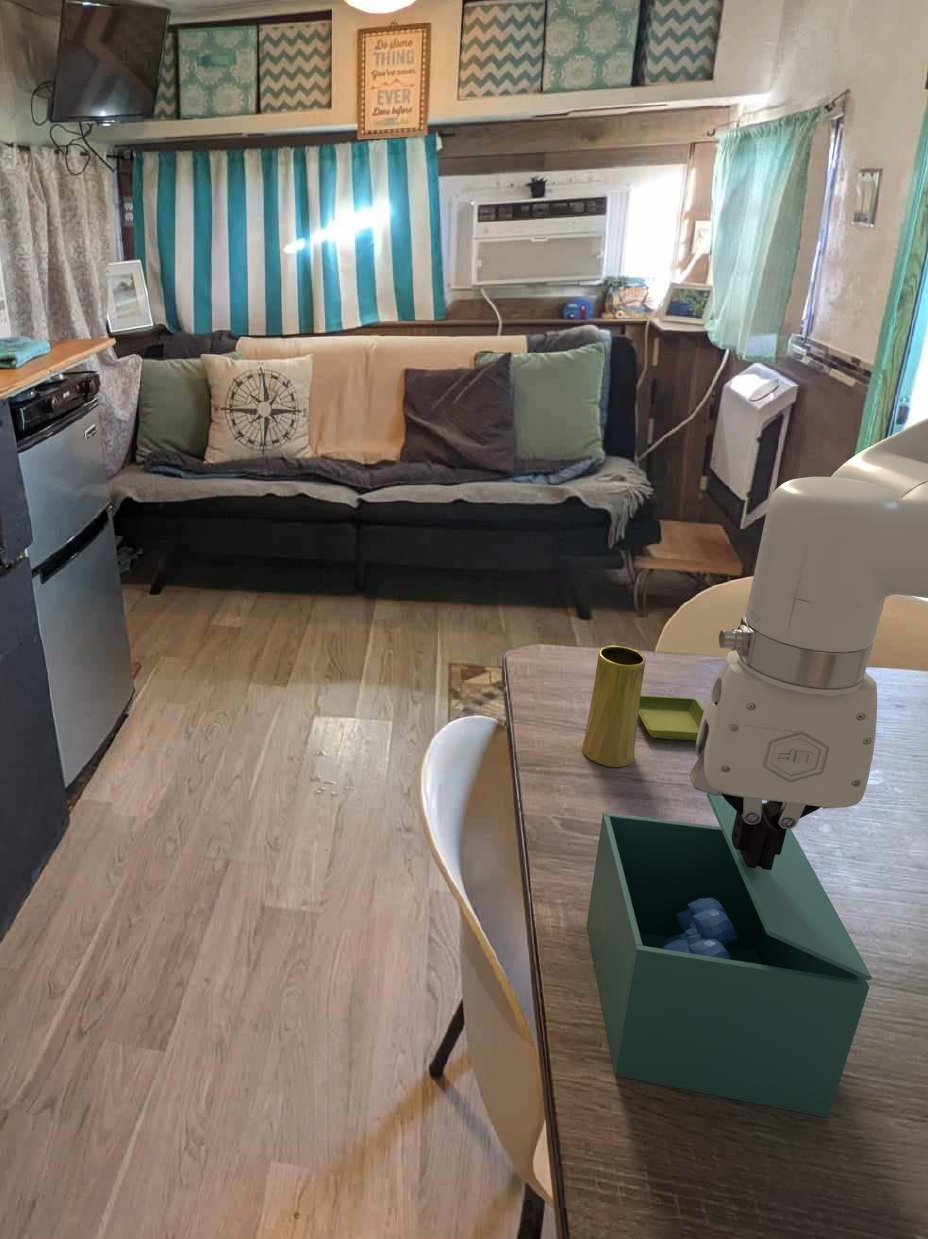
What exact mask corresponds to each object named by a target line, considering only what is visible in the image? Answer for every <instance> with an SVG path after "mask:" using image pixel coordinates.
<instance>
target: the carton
mask: <svg viewBox="0 0 928 1239" xmlns="http://www.w3.org/2000/svg"><path fill="white" fill-rule="evenodd" d="M598 837H599V838H598V843H597V844H598V845H597V852H596V857H595V865H594V870H593V871H594V872H593V878H592V886H591V891H590V898H589V906H588V912H587V919H586V929H587V934H588V940H589V946H590V950H591V956H592V962H593V967H594V972H595V978H596V983H597V988H598V994H599V998H600V1005H601V1009H602V1014H603V1015H602V1016H603V1021H604V1026H605V1032H606V1036H607V1042H608V1047H609V1053H610V1058H611V1063H612V1069H613V1073H614V1074H613V1075H614V1076H615V1077H618V1078H623V1079H629V1080H634V1081H638V1082H644V1083H647V1084H654V1085H659V1086H664V1087H669V1088H674V1089H680V1090H684V1091H690V1092H695V1093H698V1094H699V1093H700V1094H703V1095H710V1096H715V1097H720V1098H724V1099H730V1100H735V1101H741V1102H744V1103H745V1102H746V1103H750V1104H756V1105H761V1106H765V1107H770V1108H775V1109H781V1110H786V1111H791V1112H797V1113H802V1114H805V1115H806V1114H807V1115H810V1116H815V1117H822V1118H826V1119H828V1118H829V1117H830V1113H831V1111H832V1107H833V1104H834V1101H835V1098H836V1095H837V1092H838V1089H839V1086H840V1082H841V1079H842V1076H843V1073H844V1069H845V1067H846V1063H847V1061H848V1057H849V1054H850V1050H851V1047H852V1045H853V1041H854V1037H855V1035H856V1031H857V1029H858V1026H859V1022H860V1018H861V1016H862V1013H863V1009H864V1007H865V1004H866V1003H865V1002H866V1000H867V996H868V993H869V990H870V985H869V983H868V981H867V980H866V979H863V978H861V977H859V976H857V975H855V974H852V973H850V972H848V971H846V970H844V969H841V968H839V967H837V966H835V965H833V964H831V963H828V962H826V961H824V960H822V959H820V958H817V957H815V956H813V955H811V954H809V953H806V952H804V951H802V950H800V949H798V948H795V947H793V946H791V945H789V944H787V943H784V942H782V941H780V940H778V939H776V938H774V937H771V936H769V935H767V934H766V931H765V929H764V927H763V924H762V922H761V920H760V917H759V915H758V913H757V910H756V908H755V906H754V904H753V901H752V899H751V897H750V894H749V892H748V890H747V887H746V885H745V883H744V880H743V878H742V876H741V874H740V871H739V869H738V867H737V864H736V862H735V860H734V857H733V855H732V853H731V850H730V848H729V846H728V844H727V841H726V839H725V837H724V834H723V832H722V830H721V827H720V826H718V825H710V824H702V823H693V822H684V821H679V820H678V821H677V820H668V819H660V818H653V817H643V816H637V815H636V816H635V815H628V814H621V813H612V812H602V818H601V823H600V830H599V836H598ZM701 898H713V899H715V900H717V901H718V902H719V903H720V904H721V905H722V907H723V908H724V910H725V911H726V914H727V917H728V918H729V919H730V921H731V922H732V924H733V927H734V929H735V932H736V935H737V939H736V940H734V941H732V942H729V943H727V944H724V945H725V946H726V949H727V951H728V953H729V955H730V958H731V960H728V959H722V958H716V957H710V956H703V955H697V954H691V953H684V952H678V951H672V950H666V949H664V948H663V946H665V942H664V940H665V939H667V938H669V937H672V936H674V935H677V934H684V932H683V930H682V929H681V926H680V923H679V921H678V918H677V915H676V914H678V913H680V912H682V911H685V910H687V909H689V907H688V904H689V903H691V902H693V901H696V900H698V899H701Z"/></svg>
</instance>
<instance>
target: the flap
mask: <svg viewBox="0 0 928 1239" xmlns="http://www.w3.org/2000/svg"><path fill="white" fill-rule="evenodd" d="M706 797H707V800H708V802H709V804H710V806H711V809H712V811H713V814H714V816H715V818H716V820H717V823H718V825H719V827H721V830H722V832H723V834H724V837H725V839H726V841H727V844H728V846H729V848H730V850H731V853H732V855H733V857H734V860H735V862H736V864H737V867H738V869H739V871H740V874H741V876H742V878H743V880H744V883H745V885H746V887H747V890H748V892H749V894H750V897H751V899H752V901H753V904H754V906H755V908H756V910H757V913H758V915H759V917H760V920H761V922H762V924H763V927H764V929H765V931H766V934H767V935H769V936H771V937H774V938H776V939H778V940H780V941H782V942H784V943H787V944H789V945H791V946H793V947H795V948H798V949H800V950H802V951H804V952H806V953H809V954H811V955H813V956H815V957H817V958H820V959H822V960H824V961H826V962H828V963H831V964H833V965H835V966H837V967H839V968H841V969H844V970H846V971H848V972H850V973H852V974H855V975H857V976H859V977H861V978H863V979H866V981H867V982H869V981H871V979H872V978H873V976H872V975H871V972H870V971H869V969H868V967H867V966H866V963H865V962H864V960H863V959H862V956H861V955H860V953H859V950H858V949H857V947H856V945H855V943H854V942H853V940H852V938H851V936H850V934H849V933H848V931H847V929H846V927H845V925H844V923H843V921H842V919H841V918H840V916H839V914H838V912H837V910H836V909H835V907H834V905H833V903H832V901H831V900H830V897H829V896H828V894H827V892H826V891H825V888H824V887H823V885H822V883H821V881H820V879H819V878H818V876H817V874H816V872H815V870H814V868H813V867H812V865H811V863H810V861H809V860H808V857H807V856H806V854H805V852H804V850H803V848H802V847H801V844H800V843H799V840H798V839H797V837H796V836H795V834H794V832H793V830H792V829H787V831H786V835H785V839H784V843H783V847H782V851H781V854H780V855H775V858H774V862H773V866H772V869H771V870H765V869H762V867H759V866H758V867H756V868H750V867H747V866H746V864H745V862H744V859H743V857H742V855H741V853H740V850H737V849H735V848H734V846H733V843H732V830H733V826H734V821H735V817H736V812H737V811H736V810H735V809H734V808H733V807H732V806H731V805H730V804H729V803H728V802H727V801H726V800H725V799H724V797H722V796H715V795H712V794H709V793H706Z"/></svg>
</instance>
